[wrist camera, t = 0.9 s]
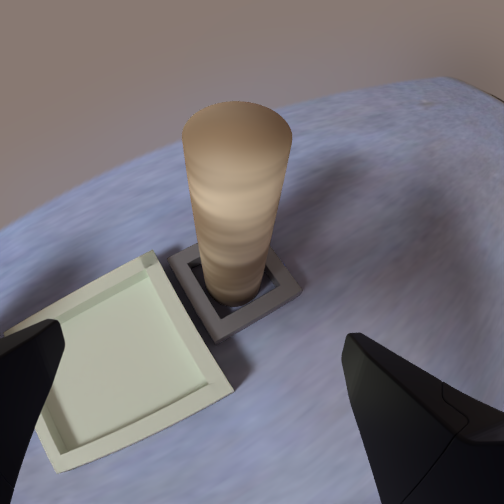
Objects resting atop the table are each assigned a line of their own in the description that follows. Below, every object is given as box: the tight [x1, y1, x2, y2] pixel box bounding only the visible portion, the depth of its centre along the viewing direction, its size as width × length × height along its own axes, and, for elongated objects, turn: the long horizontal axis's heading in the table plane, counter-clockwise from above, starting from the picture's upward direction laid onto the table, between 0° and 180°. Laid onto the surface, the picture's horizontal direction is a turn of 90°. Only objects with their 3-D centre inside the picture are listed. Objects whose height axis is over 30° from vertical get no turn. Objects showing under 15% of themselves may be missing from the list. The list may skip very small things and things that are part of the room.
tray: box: [4, 250, 234, 474], centre depth 20 cm, size 12×15×2 cm
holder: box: [167, 243, 302, 345], centre depth 25 cm, size 8×8×1 cm
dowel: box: [182, 101, 292, 307], centre depth 19 cm, size 4×4×15 cm
